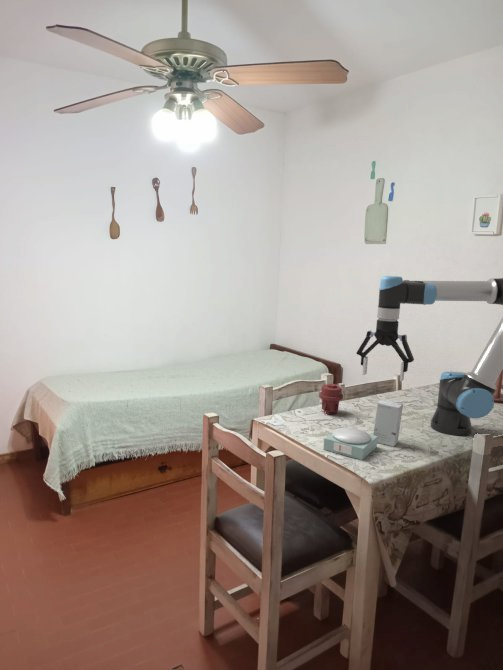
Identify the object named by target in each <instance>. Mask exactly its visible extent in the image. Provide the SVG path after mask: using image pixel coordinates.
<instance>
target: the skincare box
mask: <svg viewBox="0 0 503 670" xmlns="http://www.w3.org/2000/svg"><path fill="white" fill-rule="evenodd" d="M403 409H404V404H403V403H400V402H395V401H391V400H386V399H380V400H379V401H377V405H376V410H375V418H374V426H373V431H372V435H374V436H378V438H377V444H382V445H387V446H390V447H395V446H396V445H397V444H398V443H399V435H400V429H401V428H400V427H401V423H402V422H401V420H402V416H403V415H402V414H403Z"/></svg>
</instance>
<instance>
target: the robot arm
mask: <svg viewBox="0 0 503 670" xmlns="http://www.w3.org/2000/svg"><path fill="white" fill-rule="evenodd" d="M403 279H404V278H403V277H402V276H397V275H395V276H393V275H383V276H381V278H380V284H379V287H378V288H379V290H378V291H379V292H378V305H377V315H376V317H377V320H376V327H375V328H376V329H375V331H373V330H368V331H366V335H365V338H364V339H363V340H362V342H361V344H360V346H359V348H358V350H357V351H356V355H357V356H360V366H362V376H365V375H367V374H368V373H367V372H368V362H369V361H368V360H369V356H367V355H368V354H369V353H371V351H372V350H374V348H376V347H377V346H378V345H380V346H387V347H390V346H391V347H392V348H393V349H394V351H395V352H396V353H397V355H398V356H399V357H400V360H402V362H401V363H400V364H401V365H400V373H399V374H400V375H399V382H403V381H404V380H405V373H407V372H408V368H409V363H412V362H415V358H414V356H413V353H412V350H411V347H410V346H409V343H408V341H407V340H408V338H407V337H408V336H407V334H399V331H398V330H399V323H400V322H399V321H398V320H399V319H400V311H401V304H403V305H404V304H405V305H406V304H410V305H424V306H426V305H434V303H435V302H439V301H440V302H441V301H442V302H443V301H444V302H486V303H487V304H489V305H501V306H503V277H500V278H499V277H498V278H489V279H488V280H486V281H485V280H483V281H482V280H409V279H405V280H403ZM373 337H375V340H374V342H373V343H371V344H370V346H369V347H368V348H367V349H365V348H366V347H367V345H368V343H369V342H370V339H372V338H373ZM398 339H399V341H400V342H401V344H402V346H403V349H404V351H405V353H404V351H403V350H402V348H401V347H400V346H399V344H398V342H397V341H398ZM502 372H503V316H502V317H501V319H500V321H499V323H498V324H497V327H495V330H494V331H493V333H492V335H491V337H490V338H489V340H488V342H487V343H486V346H485V347H484V349H483V351H482V352H481V354H480V356H479V357H478V359H477V361H476V363H475V365H474V366H473V368H472V370H471V371H470V372H461V371H443V372H442V373H441V374H440V378H439V387H438V398H437V403H436V404H437V406H436V409H435V411H434V413H433V415H432V417H431V420H430V428H431V429H433V430H435V431H436V432H440V433H442V434H446V435H453V436H467V435H470V434H471V433H472V427H473V426H472V422H471V419H480V418H483V417H486V416H488V415H489V414H490V413H491V412H492V410H493V408H494V405H495V401H494V395H495V392H496V391H497V385H496V382H497V380H498V378H499V377H500V374H501V373H502Z"/></svg>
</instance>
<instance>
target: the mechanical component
mask: <svg viewBox="0 0 503 670" xmlns="http://www.w3.org/2000/svg"><path fill="white" fill-rule="evenodd" d="M342 389H343V388H342V387H341V386H339V385H337V384H336V383H326V384H324V385H322V386H321V391H320V392H319V394H318V397H319V398H320V400H321V401H322V402H321V410H323V412H325V415H326V414H327V415H328V416H329V415H332V414H333V415H334V414H338V412H339V409H340V408H339V405H340V402H341V401H342V400H343V399H344V395H343V393H342Z"/></svg>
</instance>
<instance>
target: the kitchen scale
mask: <svg viewBox="0 0 503 670" xmlns="http://www.w3.org/2000/svg"><path fill="white" fill-rule="evenodd" d="M377 438H378V436H374V435H373V434H369V432H367V431H364V430H361V429H358V428H351V427H338V428H336V429H334V430H332V432H331V433H330V434H328V435H327V436H325V437H324V438H323V451H324V450H325V451H328V452H332V453H336V454H339V455H342V456H346V457H350V458H353V459H356V460H360V461H363V460H364V459H365V458H366V457H367V456H369V455H370V454H371V453H372V452H373V451H374V450H375V449H376V448H377V446H378V443H377Z"/></svg>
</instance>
